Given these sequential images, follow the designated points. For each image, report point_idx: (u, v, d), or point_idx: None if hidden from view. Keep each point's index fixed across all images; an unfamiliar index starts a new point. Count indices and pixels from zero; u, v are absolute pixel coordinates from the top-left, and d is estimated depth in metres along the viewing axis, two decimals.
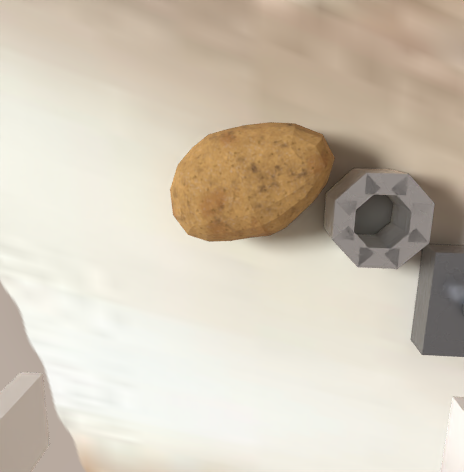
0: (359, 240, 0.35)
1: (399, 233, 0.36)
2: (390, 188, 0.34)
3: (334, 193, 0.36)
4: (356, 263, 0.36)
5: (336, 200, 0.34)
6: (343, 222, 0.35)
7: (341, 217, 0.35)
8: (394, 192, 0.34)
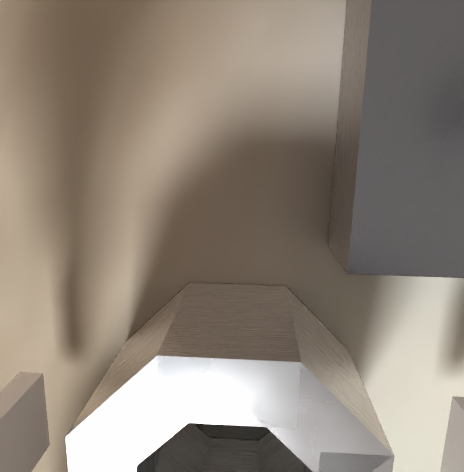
0: None
1: None
2: None
3: None
4: None
5: None
6: None
7: None
8: None
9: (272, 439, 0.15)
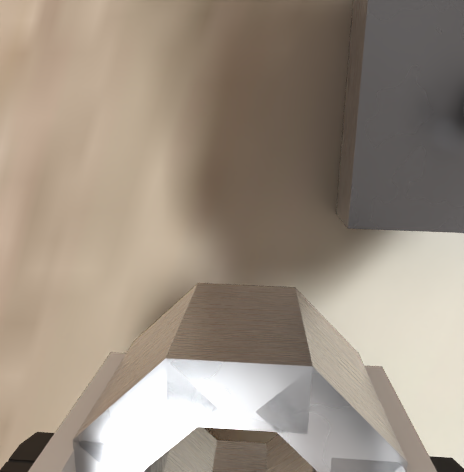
0: None
1: None
2: None
3: None
4: None
5: None
6: None
7: None
8: None
9: (280, 442, 0.15)
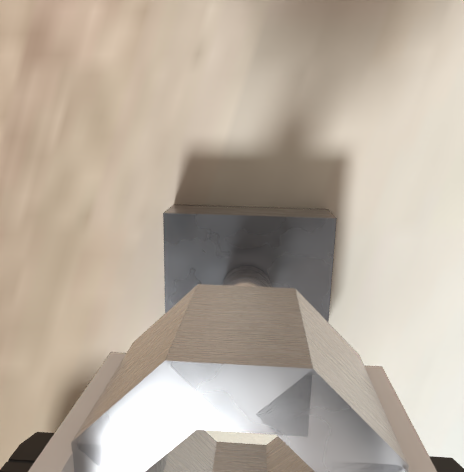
0: None
1: None
2: None
3: None
4: None
5: None
6: None
7: None
8: None
9: (280, 444, 0.15)
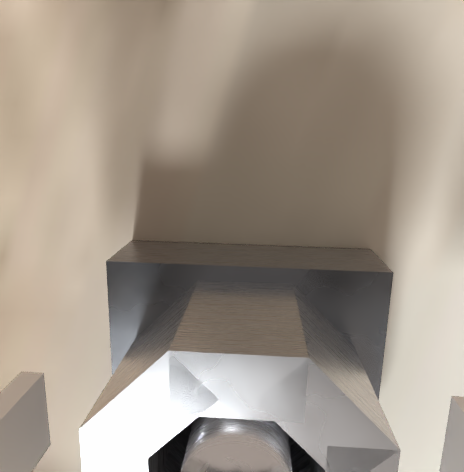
0: None
1: None
2: (129, 468, 0.11)
3: None
4: None
5: None
6: None
7: None
8: (139, 464, 0.11)
9: None
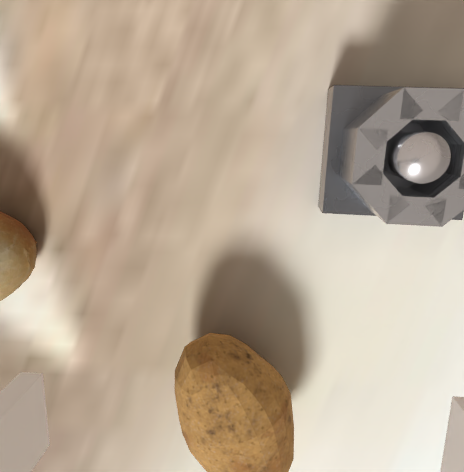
0: (447, 189, 0.25)
1: (441, 126, 0.25)
2: (376, 149, 0.25)
3: (373, 212, 0.28)
4: None
5: (386, 221, 0.26)
6: (418, 212, 0.25)
7: (410, 215, 0.26)
8: (382, 145, 0.25)
9: None
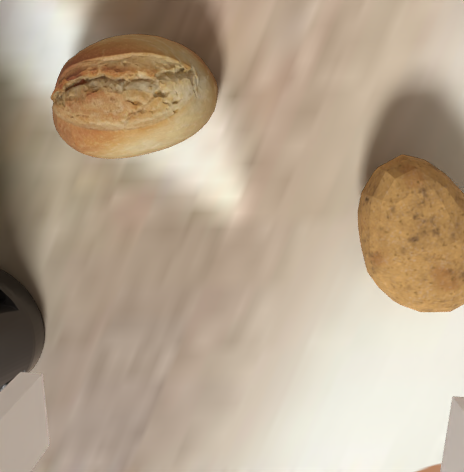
0: None
1: None
2: None
3: None
4: None
5: None
6: None
7: None
8: None
9: None
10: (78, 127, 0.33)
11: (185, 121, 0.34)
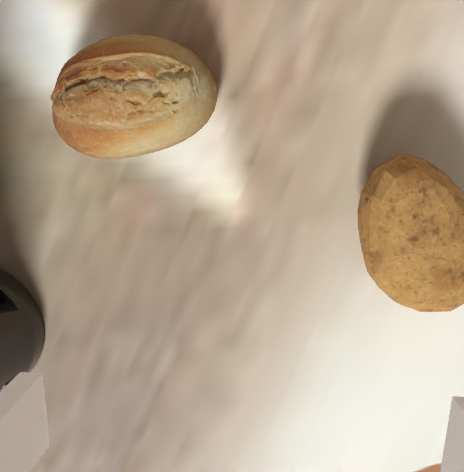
0: None
1: None
2: None
3: None
4: None
5: None
6: None
7: None
8: None
9: None
10: (77, 128, 0.33)
11: (185, 122, 0.34)
